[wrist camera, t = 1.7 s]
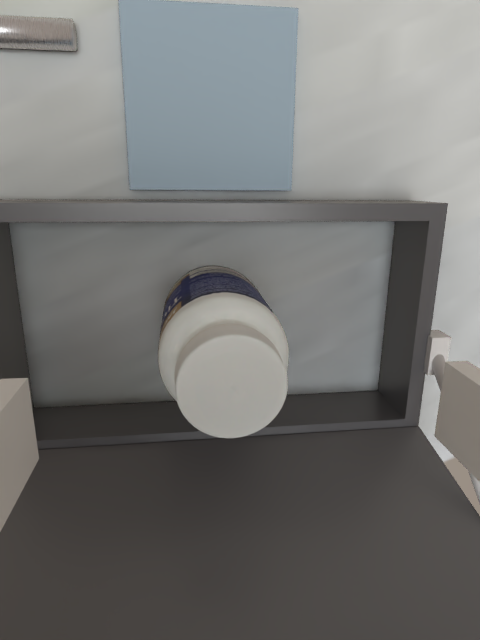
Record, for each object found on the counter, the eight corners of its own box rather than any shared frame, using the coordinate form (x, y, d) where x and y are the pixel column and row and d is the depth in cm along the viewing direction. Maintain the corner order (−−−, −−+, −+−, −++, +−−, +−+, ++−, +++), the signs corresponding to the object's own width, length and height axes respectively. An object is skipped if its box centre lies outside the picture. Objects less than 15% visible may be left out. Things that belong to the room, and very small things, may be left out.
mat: (131, 189, 23) (129, 189, 22) (119, 3, 20) (118, -2, 20) (288, 190, 24) (291, 190, 23) (295, 12, 21) (298, 7, 21)
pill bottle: (160, 265, 24) (147, 318, 15) (261, 262, 25) (310, 311, 15) (166, 361, 26) (158, 463, 16) (260, 356, 26) (305, 451, 17)
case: (26, 462, 26) (-140, 766, 13) (-13, 199, 22) (-325, 226, 8) (398, 438, 29) (593, 666, 15) (427, 200, 25) (730, 222, 11)
